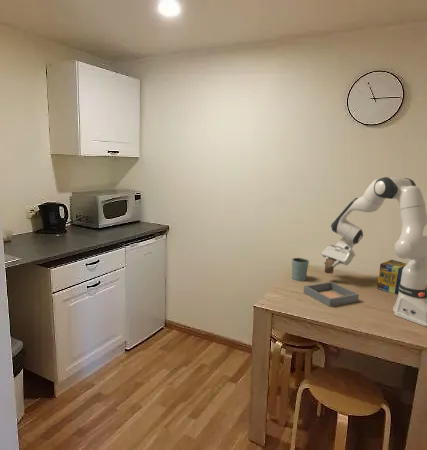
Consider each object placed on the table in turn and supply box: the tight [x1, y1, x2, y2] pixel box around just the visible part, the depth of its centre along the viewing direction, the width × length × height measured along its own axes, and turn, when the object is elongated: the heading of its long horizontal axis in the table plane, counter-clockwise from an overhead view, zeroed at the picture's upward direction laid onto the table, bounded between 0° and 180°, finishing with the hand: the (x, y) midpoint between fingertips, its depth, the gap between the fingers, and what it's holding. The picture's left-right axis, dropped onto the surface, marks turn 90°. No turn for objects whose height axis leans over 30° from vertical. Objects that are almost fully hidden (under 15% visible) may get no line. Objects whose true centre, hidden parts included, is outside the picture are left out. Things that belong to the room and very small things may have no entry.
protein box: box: [376, 259, 408, 295], centre depth 214 cm, size 10×15×16 cm
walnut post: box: [324, 258, 335, 275], centre depth 221 cm, size 5×5×8 cm
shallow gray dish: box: [303, 281, 360, 307], centre depth 198 cm, size 20×20×4 cm
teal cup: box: [291, 257, 310, 282], centre depth 225 cm, size 10×10×12 cm
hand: (328, 265), depth 221 cm, fingers closed on walnut post, 5 cm apart
